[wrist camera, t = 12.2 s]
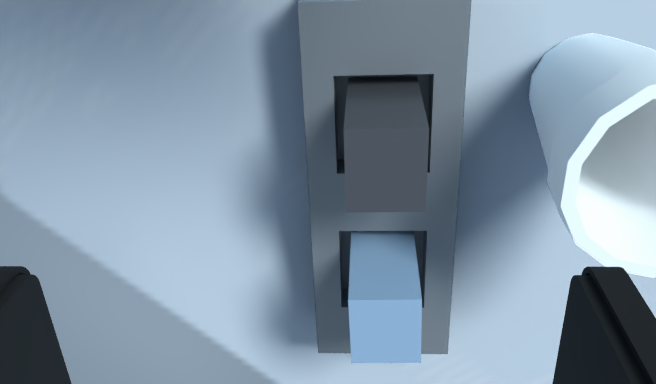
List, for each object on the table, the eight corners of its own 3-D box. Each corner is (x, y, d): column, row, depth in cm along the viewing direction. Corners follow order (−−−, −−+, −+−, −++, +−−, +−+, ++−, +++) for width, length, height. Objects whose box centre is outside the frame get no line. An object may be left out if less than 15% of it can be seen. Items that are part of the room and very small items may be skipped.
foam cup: (481, 139, 39) (529, 252, 28) (533, -10, 35) (613, 53, 24) (626, 169, 40) (730, 293, 28) (694, 26, 35) (851, 104, 24)
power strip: (297, -128, 33) (272, -125, 24) (469, -135, 32) (505, -134, 24) (321, 320, 47) (311, 420, 38) (442, 321, 46) (458, 422, 38)
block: (351, 225, 41) (348, 300, 34) (412, 223, 41) (422, 299, 34) (354, 280, 43) (351, 362, 36) (412, 280, 43) (421, 362, 36)
